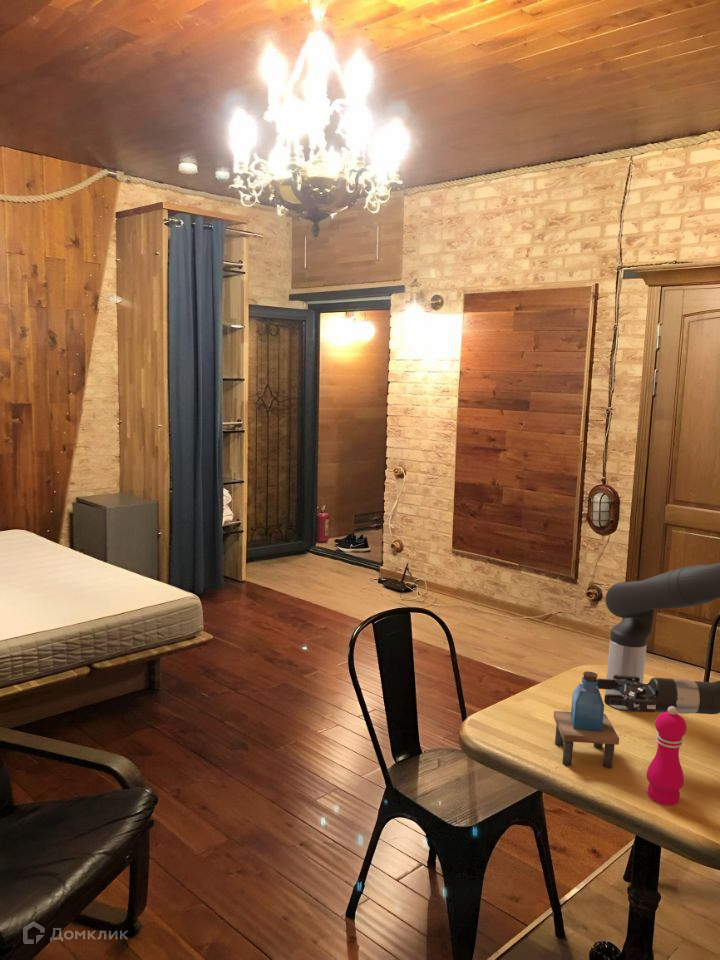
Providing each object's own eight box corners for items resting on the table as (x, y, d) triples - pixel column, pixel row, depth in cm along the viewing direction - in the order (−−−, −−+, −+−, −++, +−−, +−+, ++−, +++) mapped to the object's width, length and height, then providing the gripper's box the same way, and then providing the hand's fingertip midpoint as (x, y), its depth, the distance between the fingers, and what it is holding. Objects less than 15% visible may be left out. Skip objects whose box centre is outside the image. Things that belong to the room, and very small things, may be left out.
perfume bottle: (601, 732, 175) (606, 681, 173) (573, 728, 176) (577, 678, 174) (598, 719, 181) (602, 670, 179) (570, 716, 182) (574, 667, 180)
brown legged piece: (551, 740, 186) (554, 710, 185) (602, 744, 185) (605, 714, 184) (561, 766, 174) (564, 734, 173) (616, 770, 173) (619, 738, 172)
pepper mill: (662, 809, 158) (672, 716, 155) (637, 791, 165) (646, 701, 162) (689, 803, 161) (699, 711, 158) (663, 785, 168) (672, 697, 165)
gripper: (664, 667, 183) (594, 663, 184) (686, 693, 169) (609, 688, 170) (661, 698, 184) (591, 693, 185) (682, 726, 170) (606, 721, 171)
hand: (600, 691), depth 177 cm, fingers open, 8 cm apart
